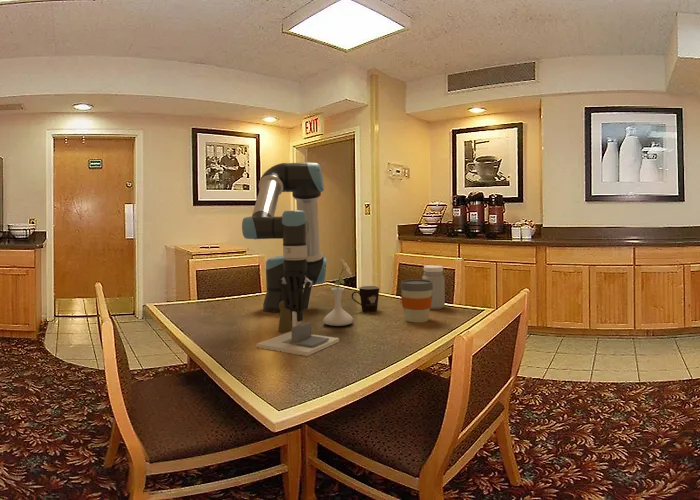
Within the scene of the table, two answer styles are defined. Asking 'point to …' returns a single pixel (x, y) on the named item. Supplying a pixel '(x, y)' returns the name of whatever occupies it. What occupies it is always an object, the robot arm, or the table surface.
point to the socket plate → (282, 345)
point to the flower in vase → (339, 303)
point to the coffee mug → (368, 298)
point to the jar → (436, 285)
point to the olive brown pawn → (284, 319)
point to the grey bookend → (305, 336)
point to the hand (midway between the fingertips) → (297, 330)
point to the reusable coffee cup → (416, 299)
